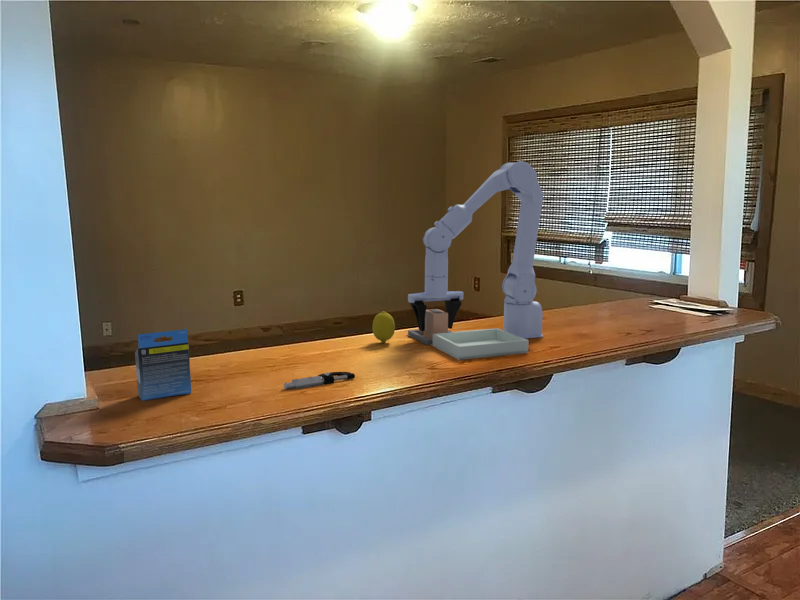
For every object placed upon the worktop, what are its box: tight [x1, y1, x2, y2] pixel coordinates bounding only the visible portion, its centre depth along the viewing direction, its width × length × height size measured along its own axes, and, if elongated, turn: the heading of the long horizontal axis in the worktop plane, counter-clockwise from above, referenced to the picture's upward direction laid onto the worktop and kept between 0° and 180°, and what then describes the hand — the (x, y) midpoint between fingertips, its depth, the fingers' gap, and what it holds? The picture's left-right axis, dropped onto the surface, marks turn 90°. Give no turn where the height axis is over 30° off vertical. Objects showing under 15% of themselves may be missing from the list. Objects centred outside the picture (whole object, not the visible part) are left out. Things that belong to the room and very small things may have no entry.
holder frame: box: [407, 329, 453, 346], centre depth 169 cm, size 10×12×1 cm
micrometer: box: [283, 371, 356, 391], centre depth 132 cm, size 15×7×2 cm, turn 120°
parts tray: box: [432, 327, 529, 361], centre depth 157 cm, size 18×14×3 cm
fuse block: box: [422, 308, 449, 339], centre depth 168 cm, size 4×6×7 cm, turn 22°
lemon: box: [371, 310, 396, 344], centre depth 163 cm, size 6×6×8 cm
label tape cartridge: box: [134, 328, 192, 402], centre depth 121 cm, size 9×4×12 cm, turn 121°
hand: (435, 329), depth 168 cm, fingers open, 7 cm apart
